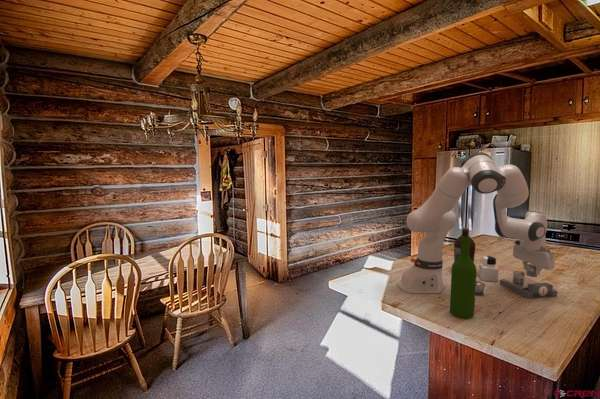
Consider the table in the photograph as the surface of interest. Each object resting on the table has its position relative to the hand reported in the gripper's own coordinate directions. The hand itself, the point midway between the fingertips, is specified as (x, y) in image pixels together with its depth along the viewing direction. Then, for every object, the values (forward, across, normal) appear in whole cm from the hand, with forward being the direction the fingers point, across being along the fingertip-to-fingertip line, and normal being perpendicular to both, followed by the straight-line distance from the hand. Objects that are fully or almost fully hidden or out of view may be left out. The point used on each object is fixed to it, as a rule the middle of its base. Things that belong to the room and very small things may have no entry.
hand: (531, 272), depth 154 cm
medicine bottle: (+8, +15, +11) cm, 20 cm away
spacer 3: (+2, 0, 0) cm, 2 cm away
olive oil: (+8, +27, +17) cm, 33 cm away
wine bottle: (+9, -18, +49) cm, 53 cm away
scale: (+8, -1, +3) cm, 9 cm away
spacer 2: (+5, 0, +6) cm, 8 cm away
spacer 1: (+8, -1, +29) cm, 30 cm away
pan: (+6, 0, +3) cm, 7 cm away
